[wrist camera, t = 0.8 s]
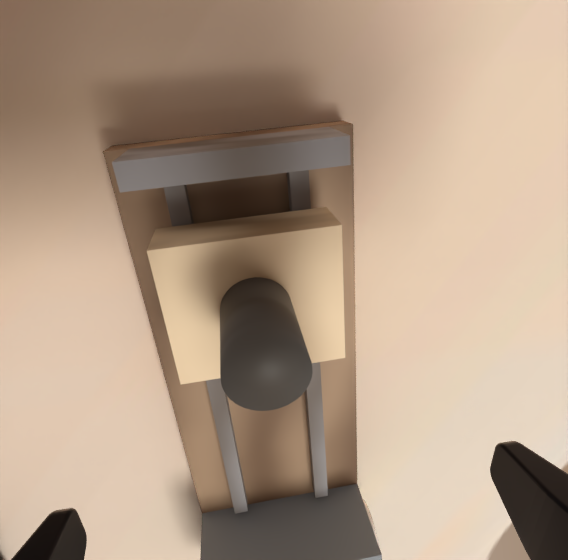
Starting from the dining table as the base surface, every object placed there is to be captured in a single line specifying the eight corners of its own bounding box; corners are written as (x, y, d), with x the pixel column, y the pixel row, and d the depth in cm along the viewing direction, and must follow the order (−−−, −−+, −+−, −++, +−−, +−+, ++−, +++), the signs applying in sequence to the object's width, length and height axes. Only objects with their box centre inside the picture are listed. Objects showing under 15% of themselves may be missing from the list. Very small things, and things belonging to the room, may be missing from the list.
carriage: (184, 350, 19) (170, 465, 14) (155, 228, 17) (123, 307, 11) (331, 328, 20) (377, 427, 14) (326, 206, 17) (380, 269, 11)
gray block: (217, 546, 30) (217, 648, 25) (202, 492, 27) (199, 592, 22) (358, 518, 31) (388, 610, 25) (358, 463, 28) (391, 552, 23)
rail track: (202, 492, 27) (200, 563, 23) (111, 146, 17) (80, 166, 13) (350, 464, 28) (372, 528, 24) (342, 120, 18) (378, 132, 14)
